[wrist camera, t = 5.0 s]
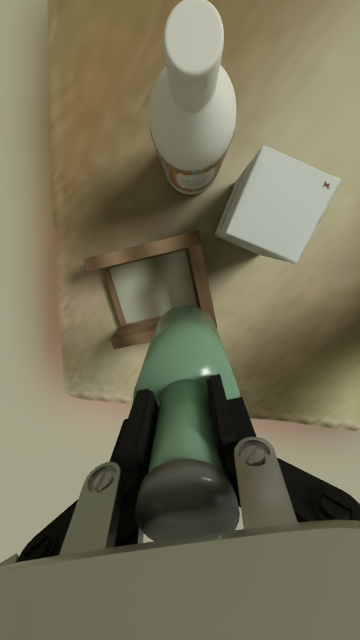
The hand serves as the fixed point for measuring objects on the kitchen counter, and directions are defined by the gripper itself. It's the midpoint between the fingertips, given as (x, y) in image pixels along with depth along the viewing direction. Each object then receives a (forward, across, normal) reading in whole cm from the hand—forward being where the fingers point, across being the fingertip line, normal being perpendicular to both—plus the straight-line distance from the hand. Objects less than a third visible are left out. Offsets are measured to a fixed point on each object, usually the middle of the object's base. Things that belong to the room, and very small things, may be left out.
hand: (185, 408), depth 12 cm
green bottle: (+10, 0, 0) cm, 10 cm away
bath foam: (+25, -5, -17) cm, 30 cm away
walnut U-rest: (+25, +3, -3) cm, 25 cm away
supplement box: (+25, -11, -8) cm, 28 cm away
